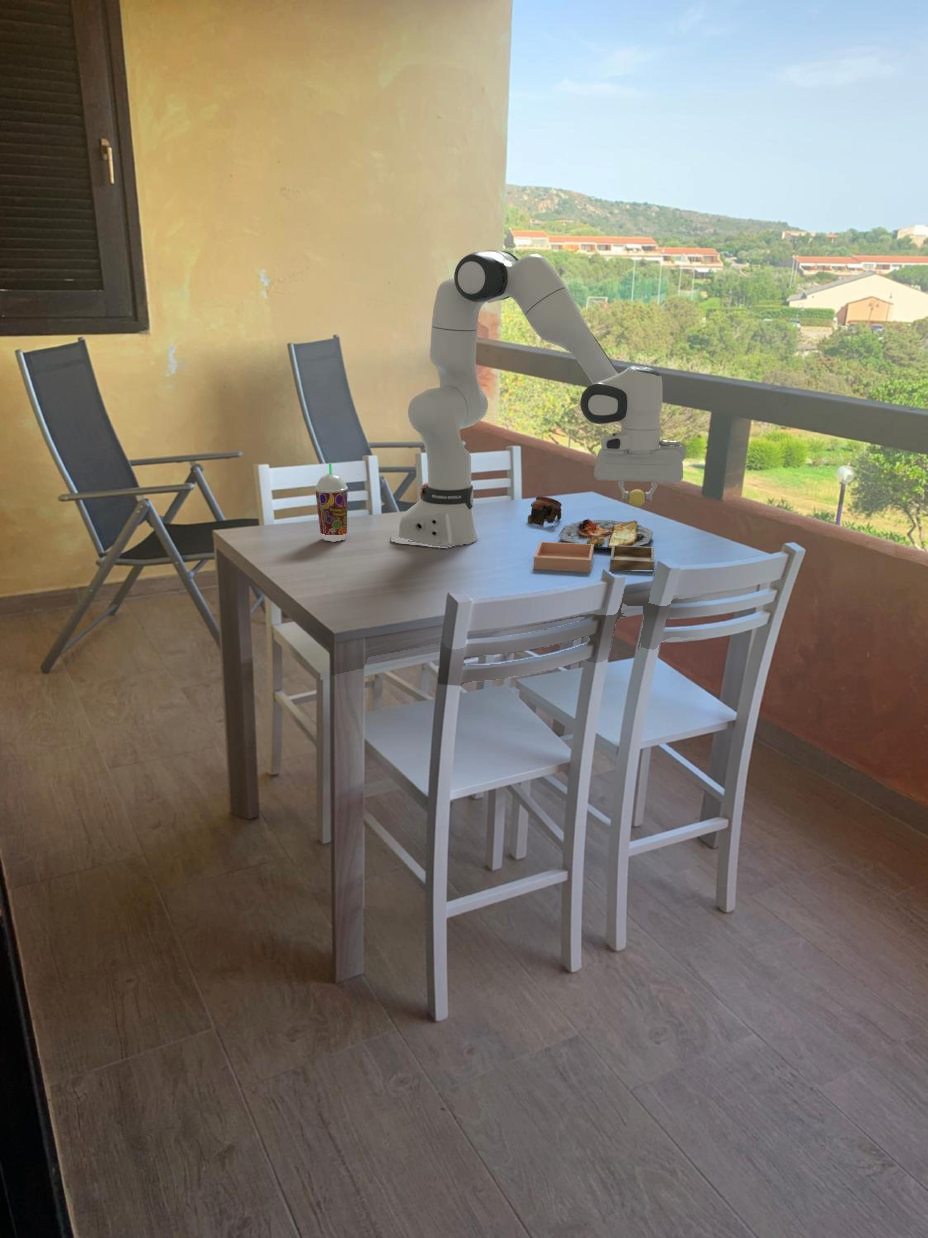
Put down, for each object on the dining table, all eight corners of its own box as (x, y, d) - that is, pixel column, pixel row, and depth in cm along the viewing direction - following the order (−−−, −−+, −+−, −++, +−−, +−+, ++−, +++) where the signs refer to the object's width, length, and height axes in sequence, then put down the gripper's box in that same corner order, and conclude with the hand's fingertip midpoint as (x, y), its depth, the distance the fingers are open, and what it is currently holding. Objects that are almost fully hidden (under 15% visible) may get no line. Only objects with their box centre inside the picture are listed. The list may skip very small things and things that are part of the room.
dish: (533, 569, 214) (533, 556, 213) (539, 553, 226) (540, 541, 225) (590, 572, 212) (590, 559, 211) (593, 555, 224) (593, 544, 223)
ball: (627, 508, 211) (628, 491, 210) (627, 504, 215) (628, 487, 214) (645, 508, 211) (646, 491, 209) (645, 504, 214) (646, 487, 213)
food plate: (571, 523, 252) (572, 511, 251) (656, 531, 246) (657, 518, 244) (551, 551, 230) (552, 537, 229) (644, 560, 224) (645, 546, 222)
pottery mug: (518, 522, 256) (527, 494, 257) (546, 534, 260) (554, 506, 261) (540, 521, 245) (549, 492, 246) (568, 533, 249) (577, 505, 250)
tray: (609, 569, 213) (610, 559, 212) (611, 555, 224) (612, 545, 223) (653, 572, 212) (654, 561, 211) (653, 557, 223) (653, 547, 222)
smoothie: (336, 545, 233) (332, 467, 226) (311, 541, 237) (306, 464, 230) (356, 537, 240) (353, 462, 232) (332, 533, 244) (327, 458, 237)
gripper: (686, 438, 209) (682, 498, 213) (596, 436, 212) (593, 495, 217) (687, 443, 203) (682, 504, 208) (594, 441, 206) (592, 501, 211)
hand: (636, 499), depth 212 cm, fingers closed on ball, 4 cm apart
